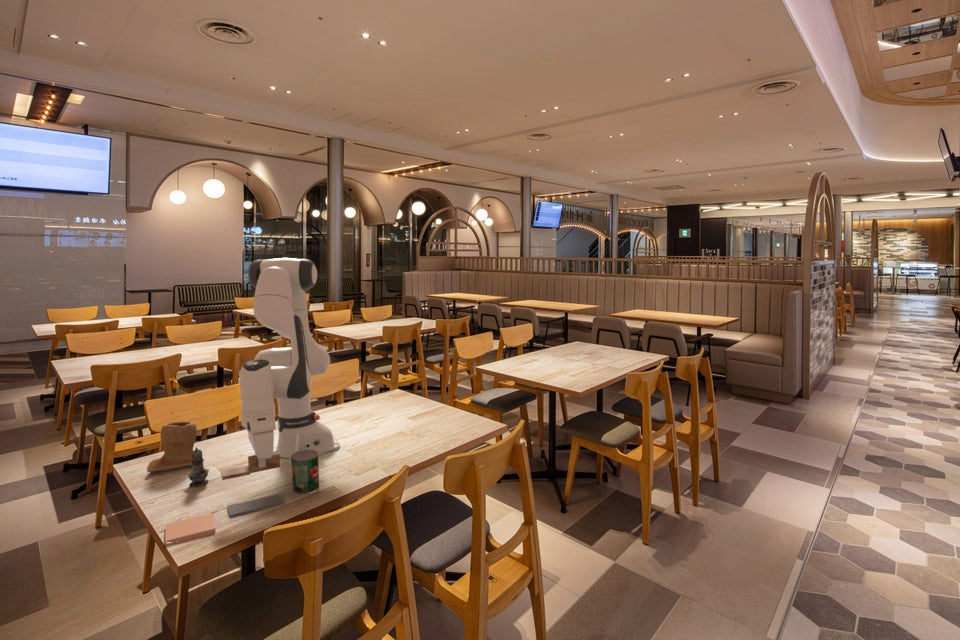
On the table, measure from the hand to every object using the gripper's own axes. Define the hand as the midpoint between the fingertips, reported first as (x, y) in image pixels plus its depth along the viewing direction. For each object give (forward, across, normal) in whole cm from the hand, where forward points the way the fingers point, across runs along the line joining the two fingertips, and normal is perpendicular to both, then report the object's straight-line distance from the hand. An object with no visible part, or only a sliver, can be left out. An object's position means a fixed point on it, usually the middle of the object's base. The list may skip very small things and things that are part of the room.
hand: (260, 463), depth 140 cm
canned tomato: (+13, -4, +13) cm, 19 cm away
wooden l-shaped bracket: (+2, 0, -2) cm, 3 cm away
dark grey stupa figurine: (+12, -25, -15) cm, 31 cm away
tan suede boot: (+12, -44, -21) cm, 50 cm away
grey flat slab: (+12, 0, -2) cm, 13 cm away
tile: (+12, +4, -13) cm, 18 cm away
